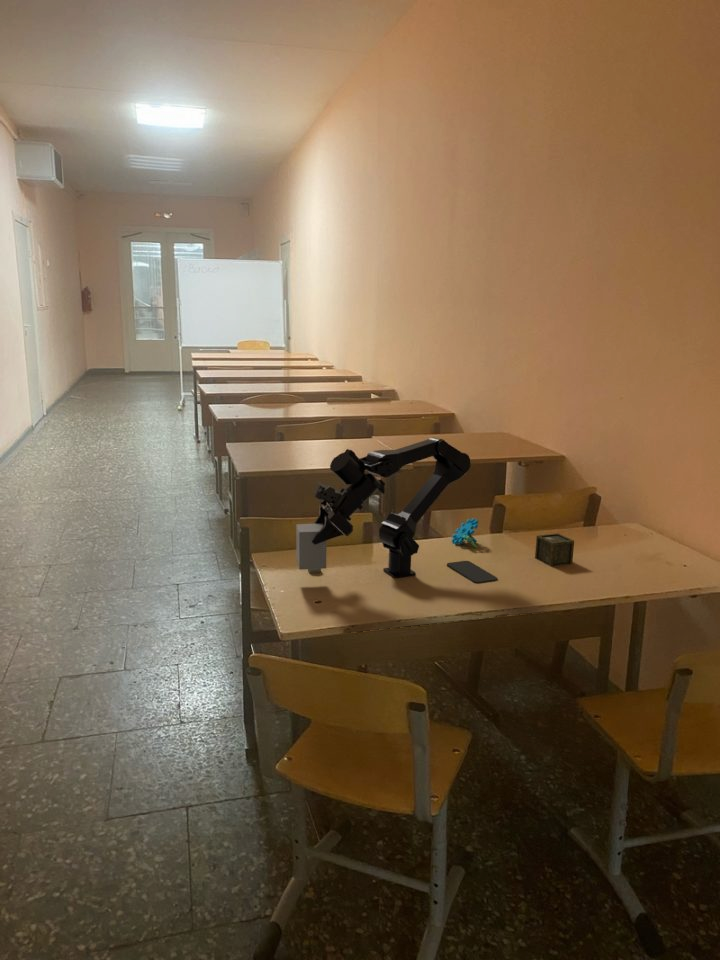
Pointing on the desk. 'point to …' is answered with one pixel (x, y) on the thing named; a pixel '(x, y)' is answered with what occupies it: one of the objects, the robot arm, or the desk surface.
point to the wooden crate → (554, 549)
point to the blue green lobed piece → (466, 532)
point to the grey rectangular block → (309, 547)
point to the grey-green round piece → (314, 570)
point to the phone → (472, 572)
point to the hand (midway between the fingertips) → (311, 538)
